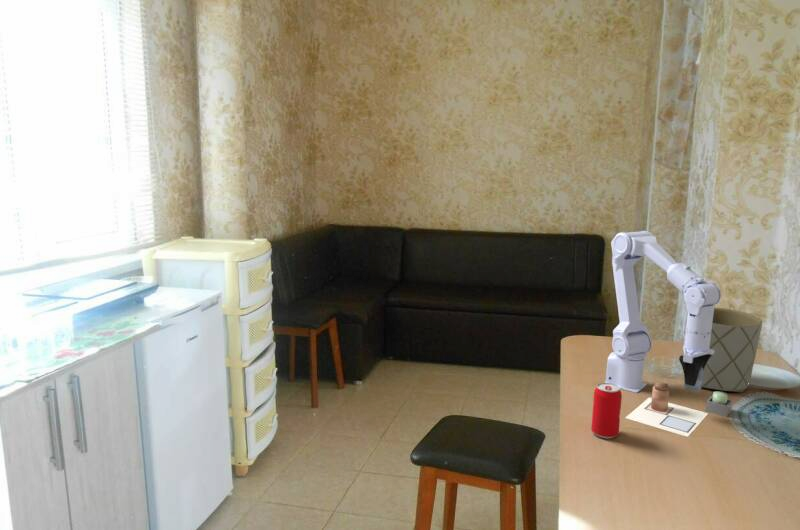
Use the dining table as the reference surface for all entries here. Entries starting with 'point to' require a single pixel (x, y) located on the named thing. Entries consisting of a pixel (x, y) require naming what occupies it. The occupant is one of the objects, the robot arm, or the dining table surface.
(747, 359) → the planter
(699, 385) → the blue gray jar
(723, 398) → the button
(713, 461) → the dining table surface
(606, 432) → the beverage can
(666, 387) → the brown jar
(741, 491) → the dining table surface
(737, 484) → the dining table surface
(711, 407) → the button housing
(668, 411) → the picture sheet
